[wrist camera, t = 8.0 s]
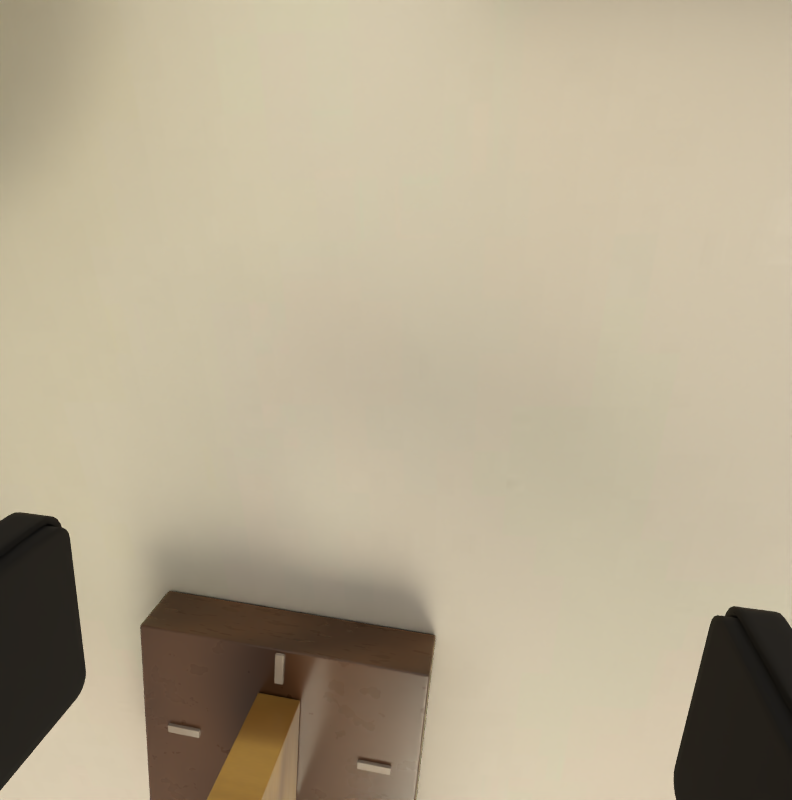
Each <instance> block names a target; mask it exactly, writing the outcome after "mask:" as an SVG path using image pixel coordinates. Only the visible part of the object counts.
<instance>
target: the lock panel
mask: <svg viewBox="0 0 792 800" xmlns="http://www.w3.org/2000/svg"><path fill="white" fill-rule="evenodd" d="M141 645H142V663H143V681H144V699H145V716H146V734H147V752H148V770H149V788H150V800H207V798H208V796H209V794H210V792H211V790H212V788H213V786H214V783H215V781H216V779H217V777H218V775H219V773H220V771H221V769H222V767H223V765H224V763H225V761H226V759H227V756H228V754H229V752H230V750H231V748H232V746H233V744H234V742H235V740H236V738H237V736H238V734H239V732H240V729H241V727H242V725H243V723H244V721H245V719H246V717H247V715H248V713H249V711H250V709H251V707H252V705H253V702H254V700H255V698H256V696H257V694H258V693H262V694H268V695H273V696H279V697H284V698H289V699H295V700H299V701H300V714H299V738H298V761H297V784H296V800H416V797H417V789H418V781H419V772H420V764H421V755H422V747H423V739H424V730H425V722H426V714H427V705H428V697H429V688H430V680H431V672H432V663H433V655H434V647H435V636H434V635H430V634H424V633H418V632H412V631H406V630H400V629H394V628H388V627H382V626H376V625H370V624H364V623H358V622H353V621H347V620H341V619H335V618H329V617H323V616H317V615H311V614H305V613H299V612H293V611H287V610H281V609H275V608H269V607H263V606H257V605H251V604H245V603H239V602H233V601H227V600H221V599H215V598H209V597H203V596H197V595H191V594H185V593H179V592H173V591H169V592H168V593H167V594H166V595H165V596H164V597H163V599H162V600H161V601H160V602H159V604H158V605H157V606H156V607H155V608H154V610H153V611H152V612H151V613H150V614H149V616H148V617H147V618H146V619H145V621H144V622H143V623H142V624H141Z"/></svg>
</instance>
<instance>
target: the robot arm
mask: <svg viewBox="0 0 792 800" xmlns="http://www.w3.org/2000/svg"><path fill="white" fill-rule="evenodd" d="M85 676H86V669H85V660H84V652H83V644H82V635H81V627H80V619H79V610H78V602H77V594H76V585H75V577H74V569H73V560H72V552H71V544H70V537H69V533H68V532H67V530H66V529H64V528H62V527H61V524H60V522H59V521H58V519H56V518H54V517H51V516H43V515H36V514H28V513H13V514H11V515H9V516H7V517H6V518H4V519H3V520H1V521H0V790H1V789H2V788H3V787H4V785H5V784H6V783H7V782H8V781H9V779H10V778H11V777H12V776H13V775H14V773H15V772H16V771H17V770H18V768H19V767H20V766H21V765H22V764H23V762H24V761H25V760H26V759H27V758H28V756H29V755H30V754H31V753H32V752H33V750H34V749H35V748H36V747H37V746H38V744H39V743H40V742H41V741H42V740H43V738H44V737H45V736H46V735H47V734H48V732H49V731H50V730H51V729H52V727H53V726H54V725H55V724H56V723H57V721H58V720H59V719H60V718H61V717H62V715H63V714H64V713H65V712H66V711H67V709H68V708H69V707H70V706H71V705H72V703H73V702H74V701H75V700H76V698H77V697H78V696H79V694H80V692H81V690H82V688H83V685H84V682H85ZM674 790H675V796H676V800H792V628H791V627H790V625H789V624H788V622H787V621H786V619H785V618H784V617H783V616H782V615H781V614H780V613H777V612H773V611H765V610H757V609H750V608H742V607H735V606H733V607H731V608H729V610H728V611H727V612H726V615H725V616H718V615H717V616H714V618H713V619H712V621H711V624H710V627H709V632H708V636H707V640H706V644H705V648H704V652H703V656H702V660H701V664H700V668H699V672H698V676H697V680H696V684H695V688H694V692H693V696H692V700H691V704H690V708H689V712H688V716H687V720H686V724H685V728H684V732H683V736H682V740H681V744H680V748H679V752H678V756H677V760H676V764H675V770H674Z"/></svg>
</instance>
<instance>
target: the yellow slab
mask: <svg viewBox="0 0 792 800" xmlns="http://www.w3.org/2000/svg"><path fill="white" fill-rule="evenodd" d="M299 714H300V701H299V700H295V699H289V698H284V697H279V696H273V695H268V694H262V693H258V694H257V696H256V698H255V700H254V702H253V705H252V707H251V709H250V711H249V713H248V715H247V717H246V719H245V721H244V723H243V725H242V727H241V729H240V732H239V734H238V736H237V738H236V740H235V742H234V744H233V746H232V748H231V750H230V752H229V754H228V756H227V759H226V761H225V763H224V765H223V767H222V769H221V771H220V773H219V775H218V777H217V779H216V781H215V783H214V786H213V788H212V790H211V792H210V794H209V796H208V798H207V800H296V784H297V761H298V738H299Z"/></svg>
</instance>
